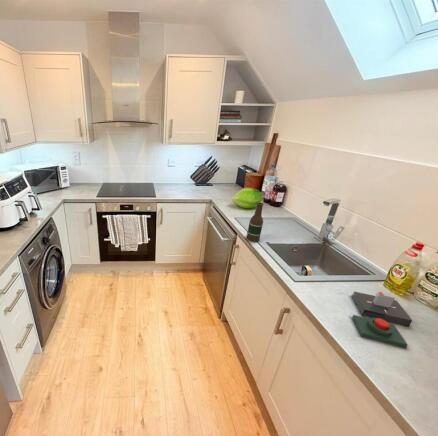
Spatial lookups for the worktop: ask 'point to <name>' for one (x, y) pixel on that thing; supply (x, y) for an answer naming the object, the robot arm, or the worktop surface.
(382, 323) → the power button
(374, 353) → the worktop surface
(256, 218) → the beer bottle
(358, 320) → the green device base
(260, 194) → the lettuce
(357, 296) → the panel
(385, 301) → the hob knob
